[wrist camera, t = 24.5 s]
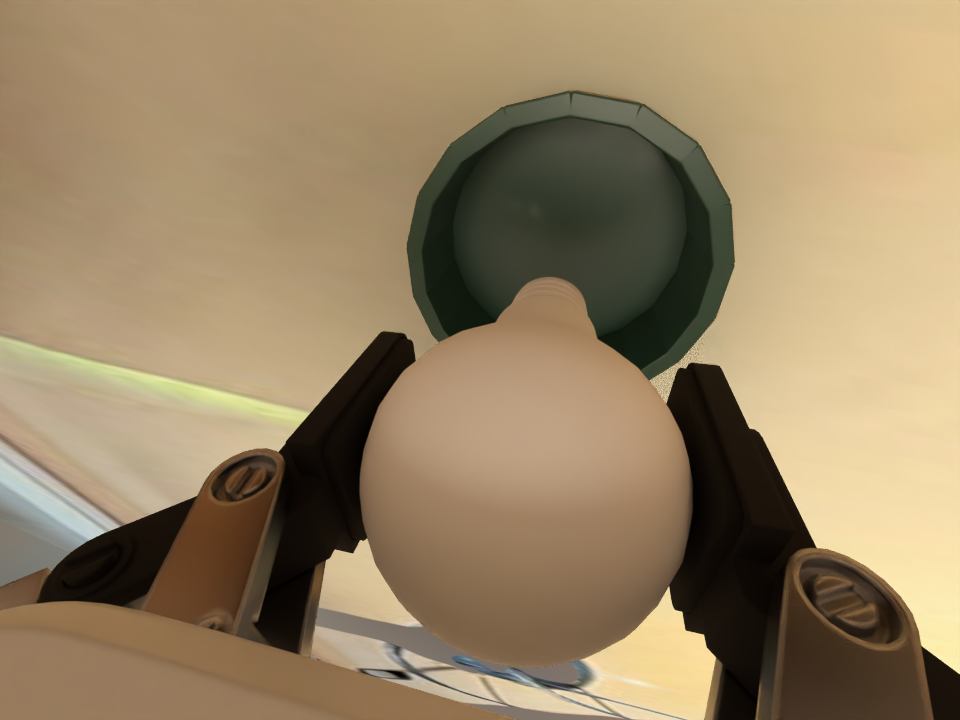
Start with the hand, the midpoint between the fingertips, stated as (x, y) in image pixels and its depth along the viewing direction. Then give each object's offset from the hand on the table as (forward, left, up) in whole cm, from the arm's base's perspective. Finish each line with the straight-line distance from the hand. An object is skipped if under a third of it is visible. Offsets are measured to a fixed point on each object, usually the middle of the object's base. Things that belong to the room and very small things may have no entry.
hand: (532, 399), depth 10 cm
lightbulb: (0, 0, -6) cm, 6 cm away
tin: (0, 0, -12) cm, 12 cm away
